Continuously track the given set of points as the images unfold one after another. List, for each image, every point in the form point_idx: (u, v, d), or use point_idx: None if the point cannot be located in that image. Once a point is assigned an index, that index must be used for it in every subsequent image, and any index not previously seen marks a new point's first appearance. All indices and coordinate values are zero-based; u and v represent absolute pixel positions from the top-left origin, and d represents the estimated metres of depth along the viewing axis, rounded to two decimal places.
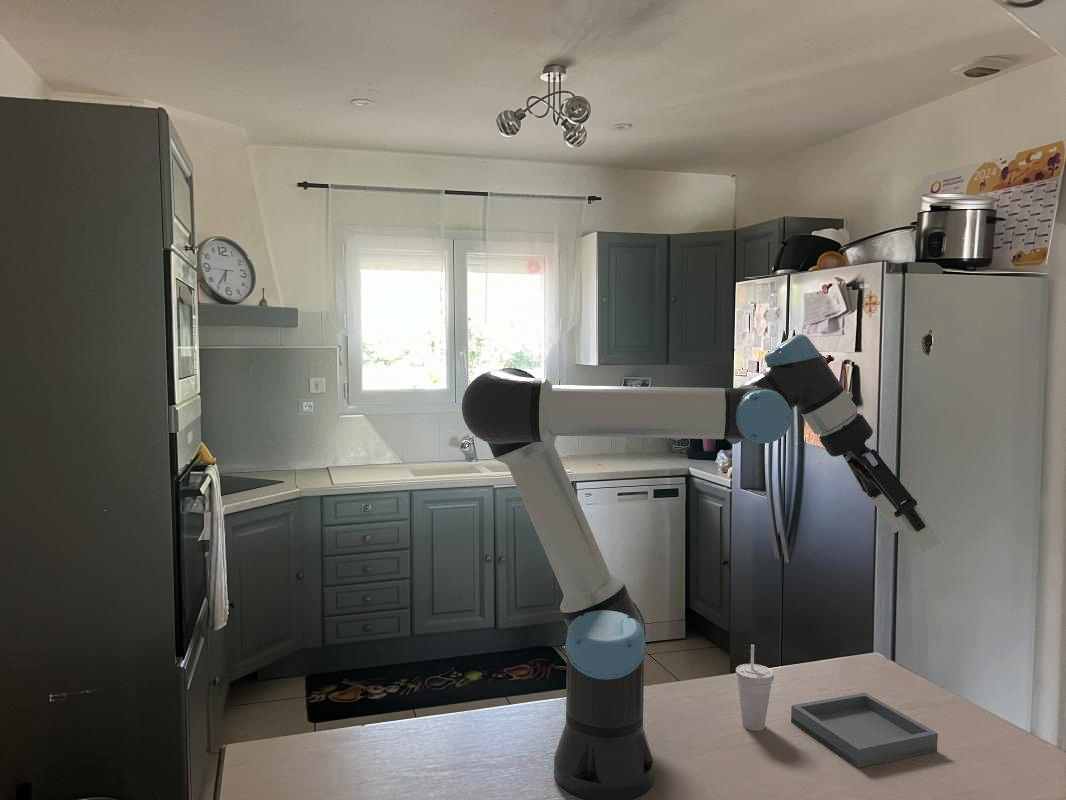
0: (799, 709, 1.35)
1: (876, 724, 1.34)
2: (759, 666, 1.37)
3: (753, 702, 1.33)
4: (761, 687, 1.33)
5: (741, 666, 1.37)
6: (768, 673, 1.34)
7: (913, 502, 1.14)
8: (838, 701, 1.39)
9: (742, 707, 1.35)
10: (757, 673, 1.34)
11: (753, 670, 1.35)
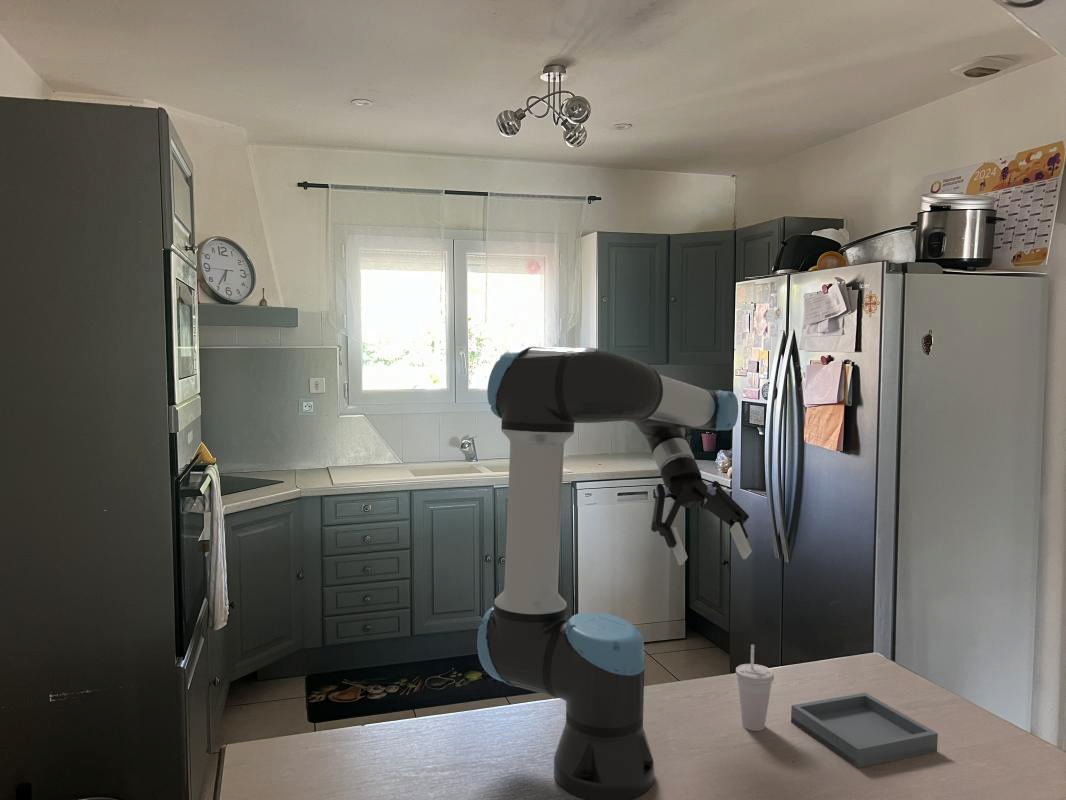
0: (799, 709, 1.35)
1: (876, 724, 1.34)
2: (759, 666, 1.37)
3: (753, 702, 1.33)
4: (761, 687, 1.33)
5: (741, 666, 1.37)
6: (768, 673, 1.34)
7: None
8: (838, 701, 1.39)
9: (742, 707, 1.35)
10: (757, 673, 1.34)
11: (753, 670, 1.35)
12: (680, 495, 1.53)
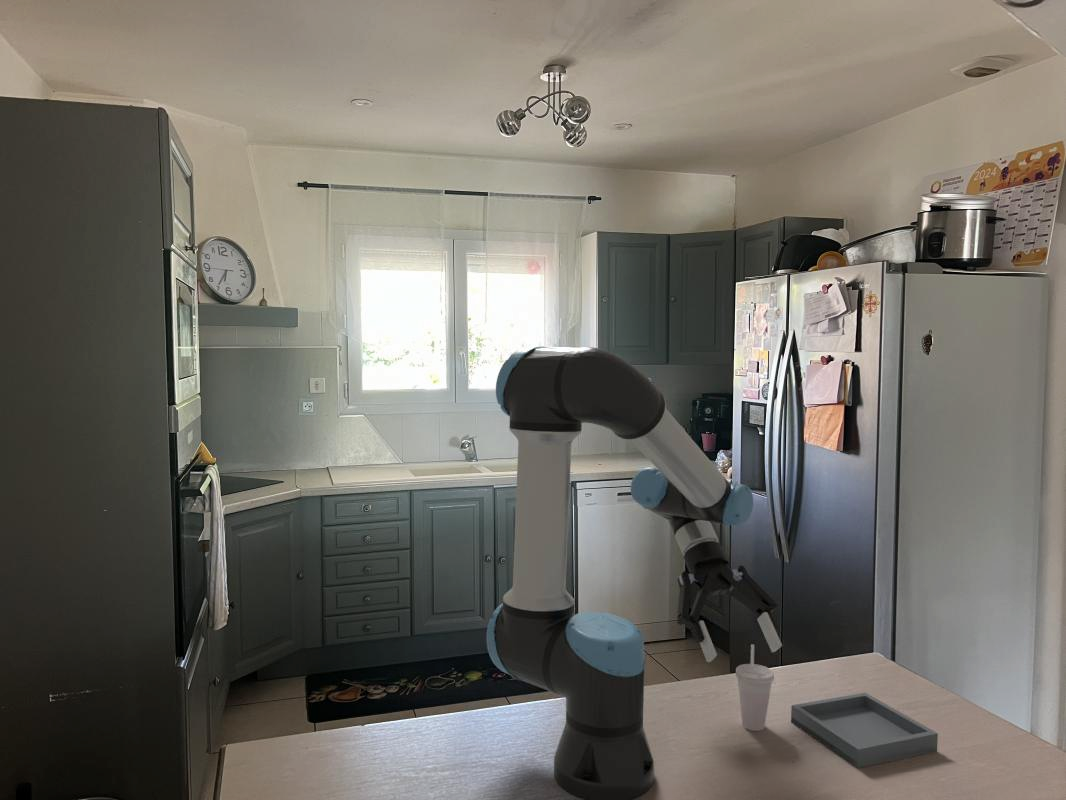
0: (799, 709, 1.35)
1: (876, 724, 1.34)
2: (759, 666, 1.37)
3: (753, 702, 1.33)
4: (761, 687, 1.33)
5: (741, 666, 1.37)
6: (768, 673, 1.34)
7: None
8: (838, 701, 1.39)
9: (742, 707, 1.35)
10: (757, 673, 1.34)
11: (753, 670, 1.35)
12: (706, 584, 1.46)
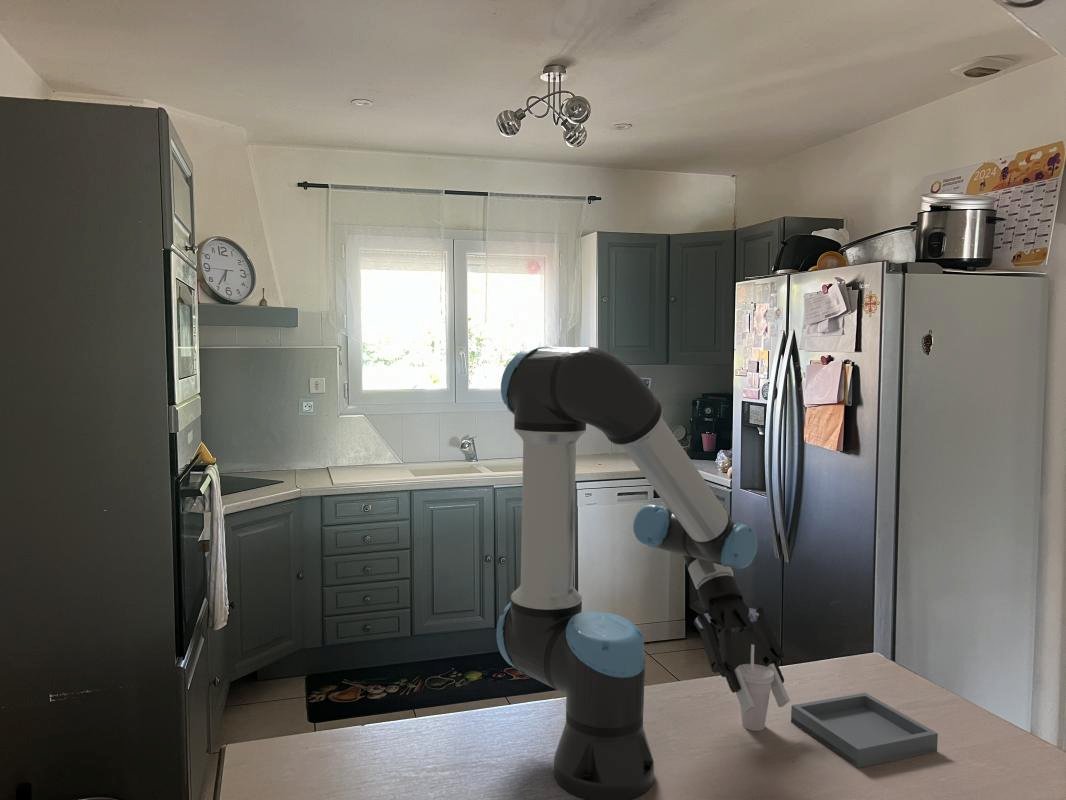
0: (799, 709, 1.35)
1: (876, 724, 1.34)
2: (759, 666, 1.37)
3: (753, 702, 1.33)
4: (761, 687, 1.33)
5: (741, 666, 1.37)
6: (768, 673, 1.34)
7: None
8: (838, 701, 1.39)
9: None
10: (757, 673, 1.34)
11: (753, 670, 1.35)
12: (726, 623, 1.39)
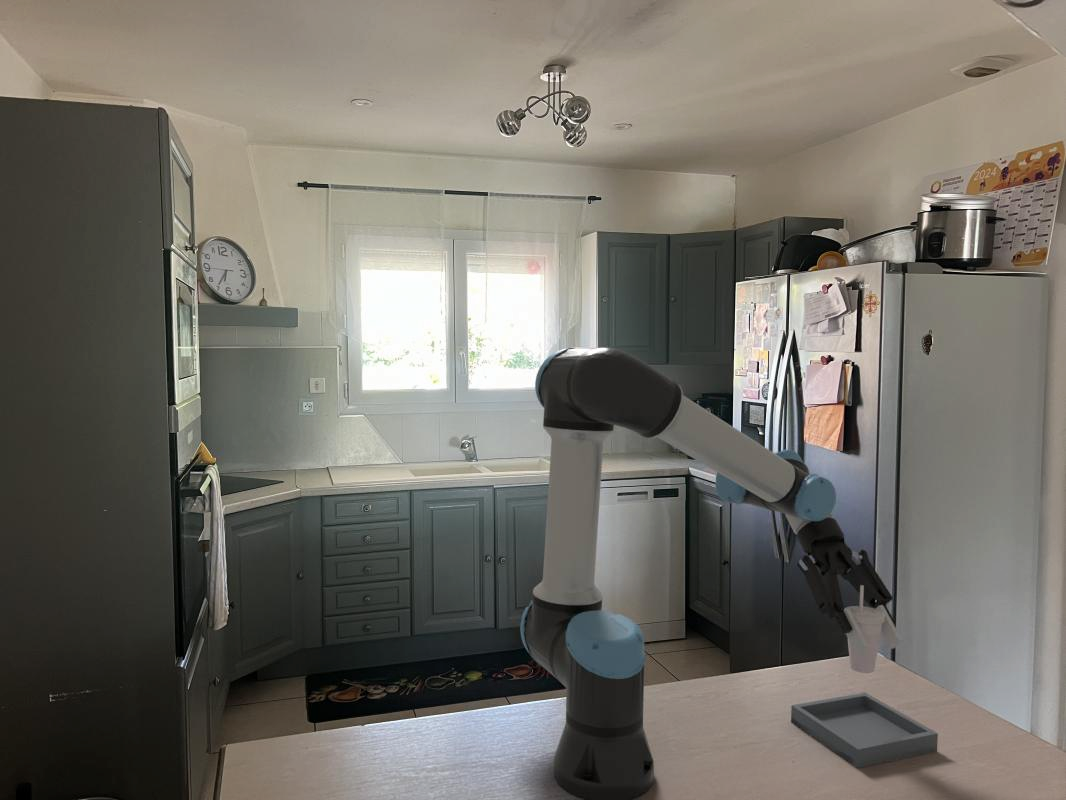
0: (799, 709, 1.35)
1: (876, 724, 1.34)
2: (867, 608, 1.33)
3: None
4: (873, 628, 1.29)
5: (848, 608, 1.33)
6: (878, 614, 1.30)
7: None
8: (838, 701, 1.39)
9: (851, 649, 1.31)
10: (868, 614, 1.30)
11: (863, 611, 1.31)
12: (832, 565, 1.35)
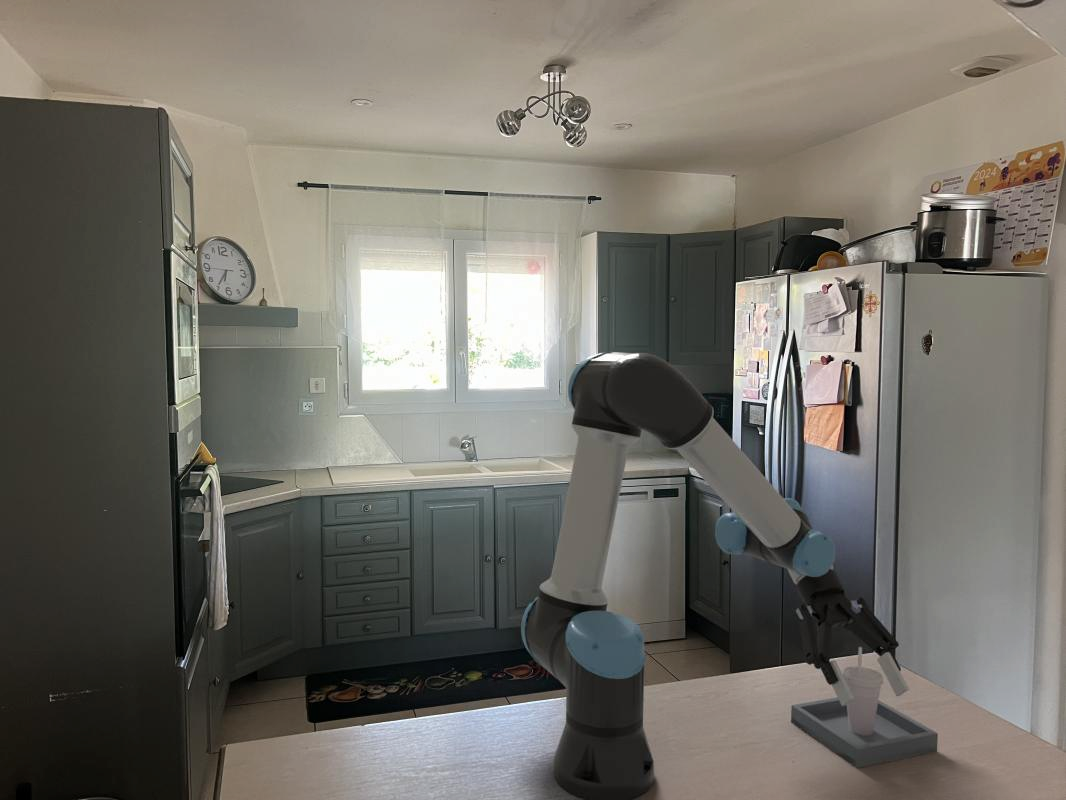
0: (799, 709, 1.35)
1: (876, 724, 1.34)
2: (865, 669, 1.34)
3: (863, 706, 1.30)
4: (872, 691, 1.29)
5: (847, 669, 1.34)
6: (877, 676, 1.31)
7: None
8: (838, 701, 1.39)
9: (850, 711, 1.31)
10: (866, 676, 1.31)
11: (861, 673, 1.32)
12: (828, 617, 1.35)
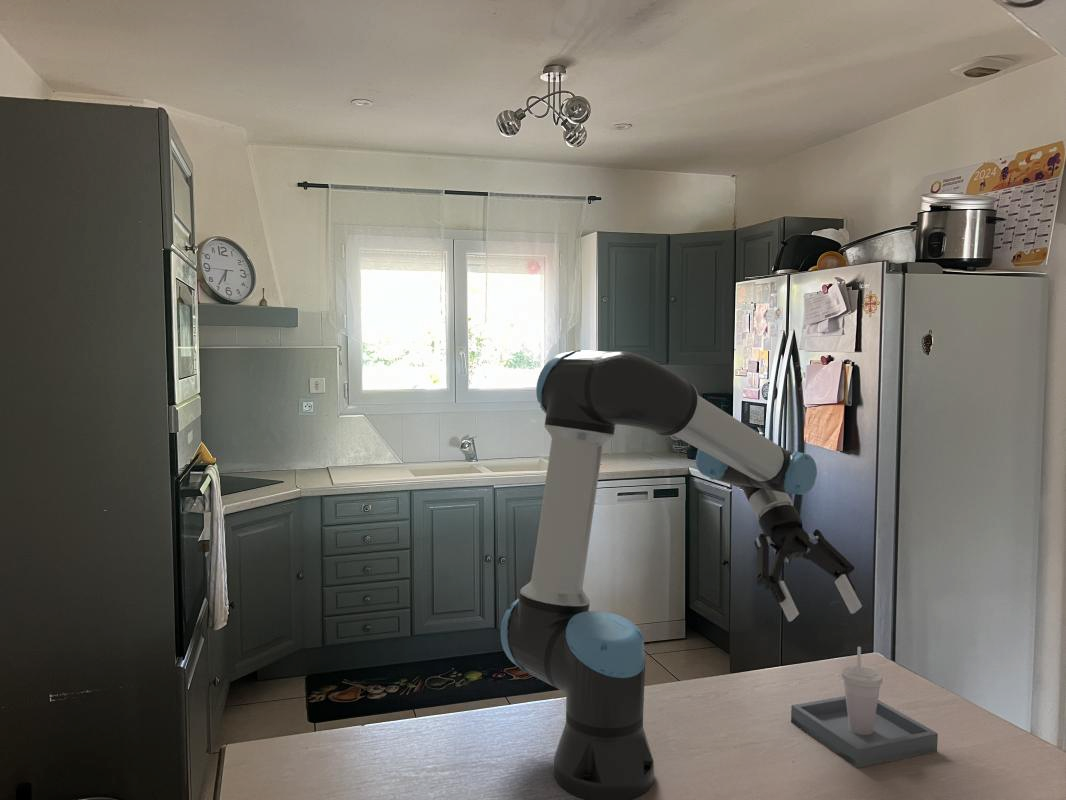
0: (799, 709, 1.35)
1: (876, 724, 1.34)
2: (864, 668, 1.34)
3: (863, 706, 1.30)
4: (871, 690, 1.29)
5: (846, 669, 1.34)
6: (876, 676, 1.31)
7: None
8: (838, 701, 1.39)
9: (850, 711, 1.31)
10: (865, 676, 1.31)
11: (860, 673, 1.32)
12: (784, 546, 1.46)
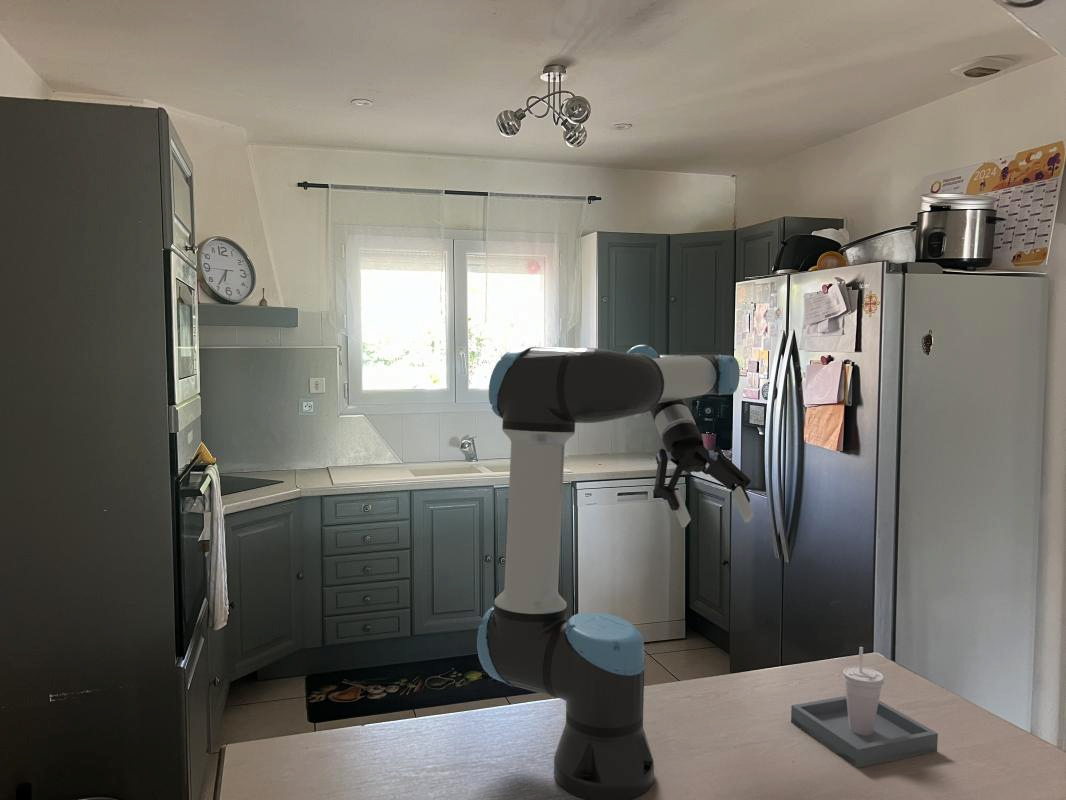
0: (799, 709, 1.35)
1: (876, 724, 1.34)
2: (866, 669, 1.34)
3: (864, 706, 1.30)
4: (873, 691, 1.29)
5: (848, 669, 1.34)
6: (877, 676, 1.31)
7: None
8: (838, 701, 1.39)
9: (850, 711, 1.31)
10: (867, 676, 1.31)
11: (862, 673, 1.31)
12: (682, 459, 1.53)
